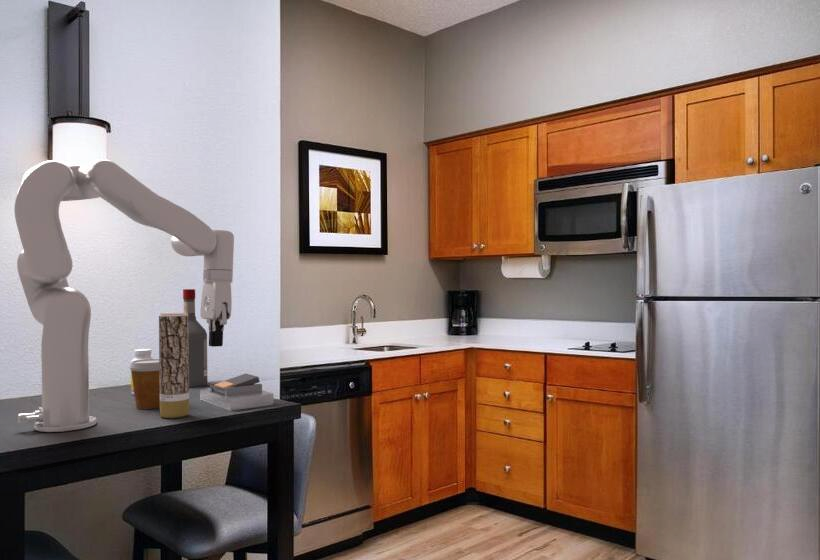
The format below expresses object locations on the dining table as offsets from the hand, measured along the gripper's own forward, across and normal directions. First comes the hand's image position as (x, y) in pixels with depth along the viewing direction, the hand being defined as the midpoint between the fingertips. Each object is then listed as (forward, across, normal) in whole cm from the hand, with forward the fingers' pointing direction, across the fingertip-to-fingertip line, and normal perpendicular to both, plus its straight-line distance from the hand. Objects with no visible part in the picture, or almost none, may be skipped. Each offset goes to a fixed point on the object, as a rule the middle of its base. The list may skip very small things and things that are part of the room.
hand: (215, 346), depth 177 cm
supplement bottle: (+16, -30, -9) cm, 35 cm away
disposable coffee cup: (+16, -9, -14) cm, 23 cm away
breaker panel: (+15, 0, +6) cm, 17 cm away
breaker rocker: (+10, 0, +6) cm, 12 cm away
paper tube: (+16, +7, -13) cm, 22 cm away
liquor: (+15, -36, +7) cm, 40 cm away
